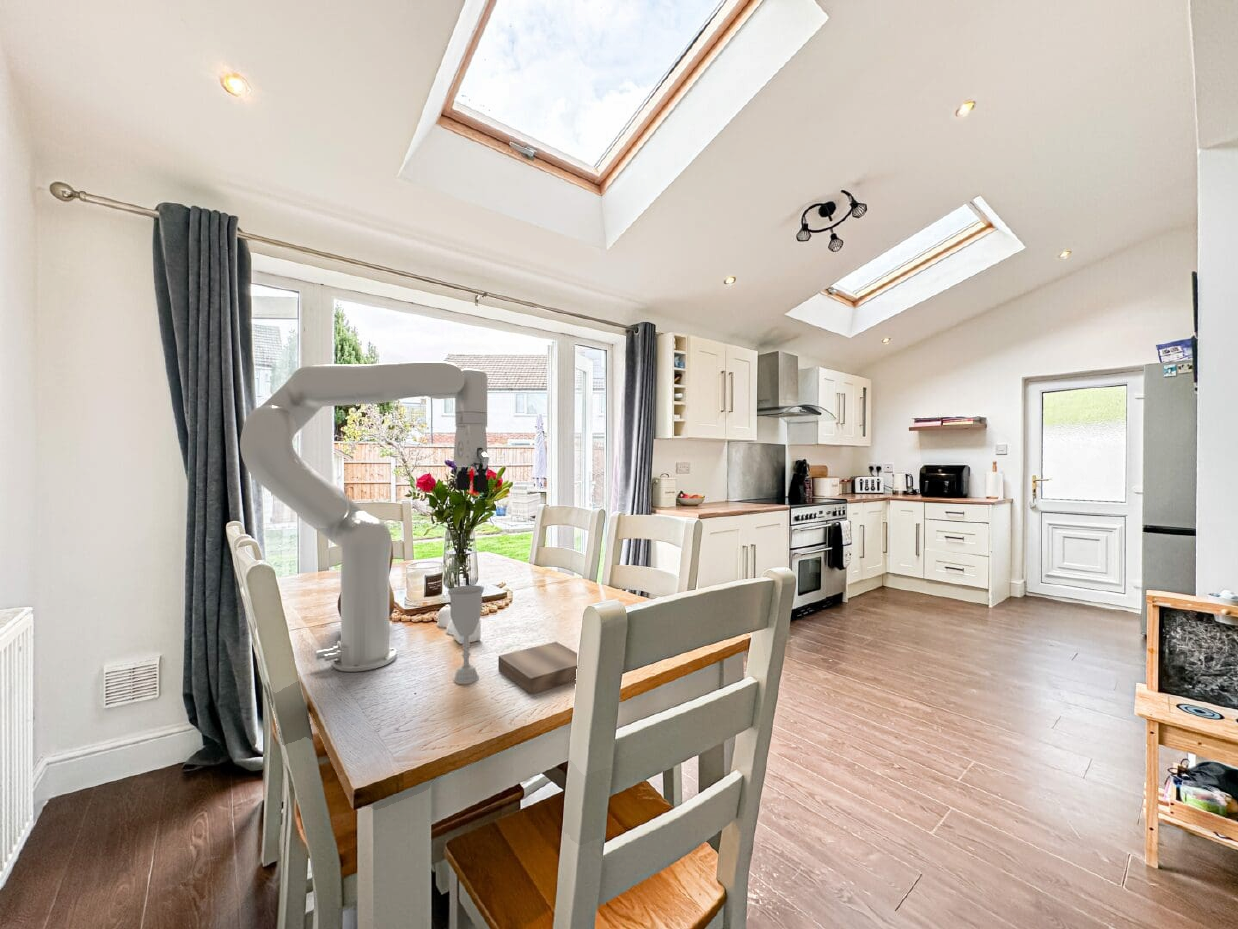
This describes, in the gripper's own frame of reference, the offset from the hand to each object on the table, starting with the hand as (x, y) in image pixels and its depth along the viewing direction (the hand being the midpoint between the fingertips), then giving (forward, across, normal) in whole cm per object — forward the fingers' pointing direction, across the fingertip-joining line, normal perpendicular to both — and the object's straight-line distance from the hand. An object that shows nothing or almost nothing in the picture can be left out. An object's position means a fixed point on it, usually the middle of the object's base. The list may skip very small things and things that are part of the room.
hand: (471, 490), depth 127 cm
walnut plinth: (+36, +28, +4) cm, 46 cm away
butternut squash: (+37, -24, -18) cm, 47 cm away
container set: (+37, -8, 0) cm, 38 cm away
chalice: (+37, +21, -10) cm, 43 cm away
